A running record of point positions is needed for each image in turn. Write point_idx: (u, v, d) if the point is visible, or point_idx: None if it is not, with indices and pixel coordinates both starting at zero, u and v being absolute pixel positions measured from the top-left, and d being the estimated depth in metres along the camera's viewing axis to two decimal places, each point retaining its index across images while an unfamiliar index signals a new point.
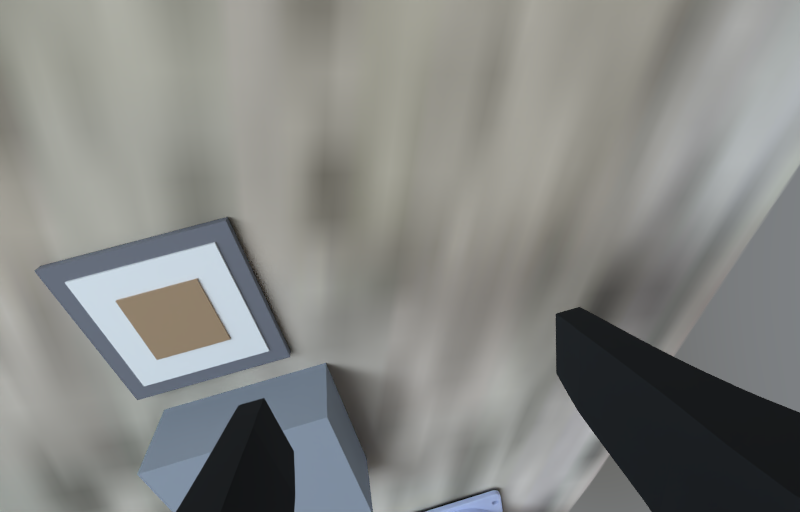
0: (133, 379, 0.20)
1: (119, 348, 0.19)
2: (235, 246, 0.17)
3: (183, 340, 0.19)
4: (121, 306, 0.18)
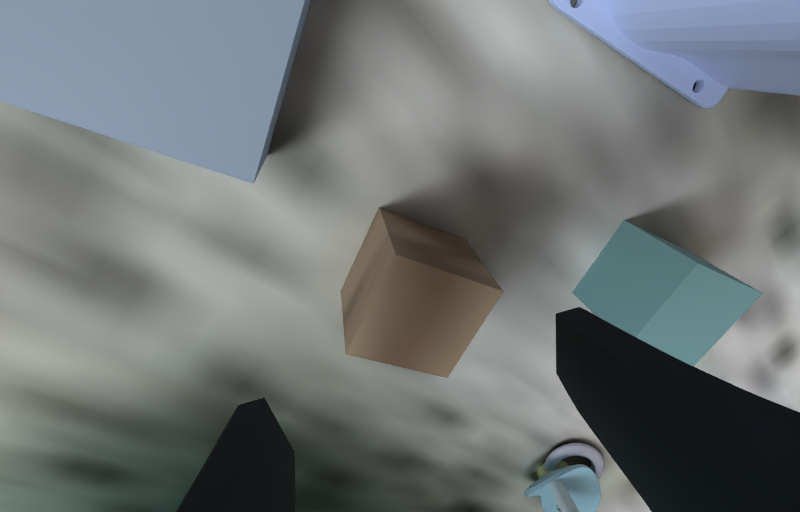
0: None
1: None
2: None
3: None
4: None
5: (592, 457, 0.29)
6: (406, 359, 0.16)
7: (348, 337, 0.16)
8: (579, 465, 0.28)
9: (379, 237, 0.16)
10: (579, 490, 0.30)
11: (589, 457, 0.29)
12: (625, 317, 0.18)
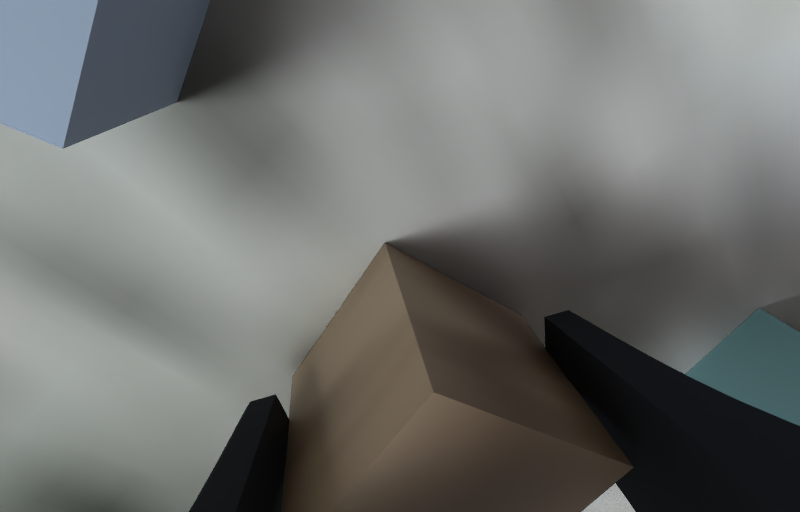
0: None
1: None
2: None
3: None
4: None
5: None
6: None
7: None
8: None
9: (384, 311, 0.08)
10: None
11: None
12: None
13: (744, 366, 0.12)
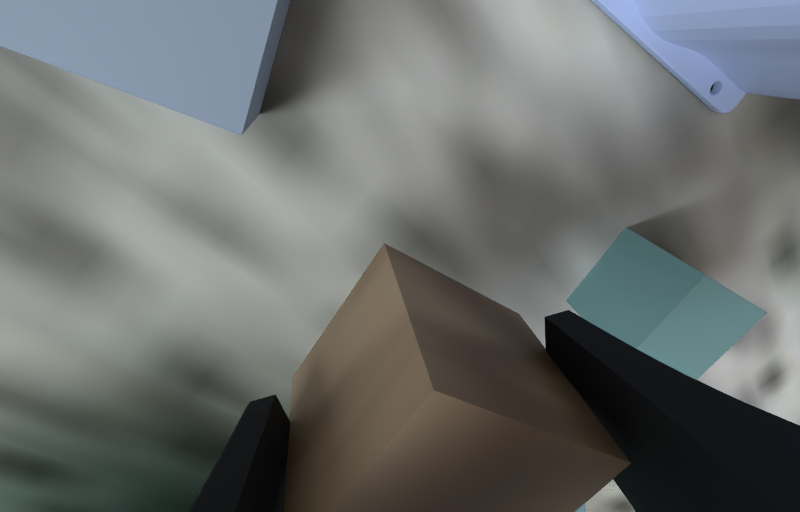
0: None
1: None
2: None
3: None
4: None
5: None
6: None
7: None
8: None
9: (383, 311, 0.08)
10: None
11: None
12: (623, 329, 0.17)
13: (615, 265, 0.19)
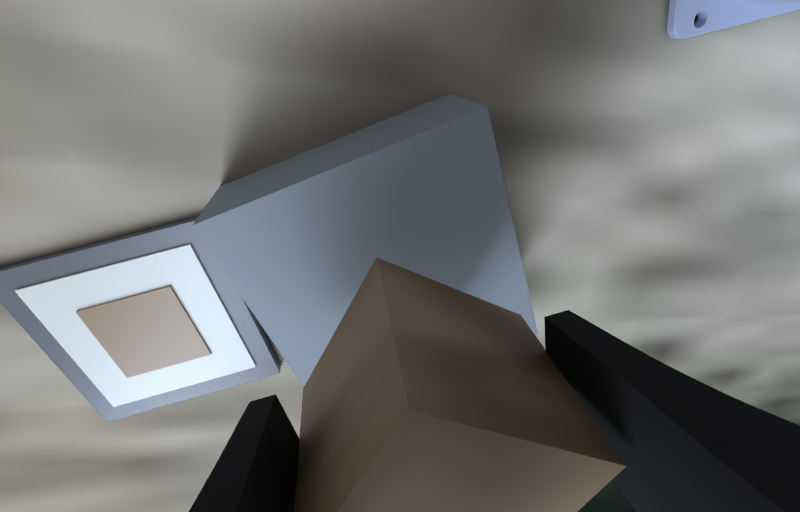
0: (248, 372, 0.18)
1: (201, 378, 0.18)
2: (15, 270, 0.14)
3: (177, 331, 0.16)
4: (134, 374, 0.17)
5: None
6: None
7: None
8: None
9: (373, 327, 0.08)
10: None
11: None
12: None
13: None
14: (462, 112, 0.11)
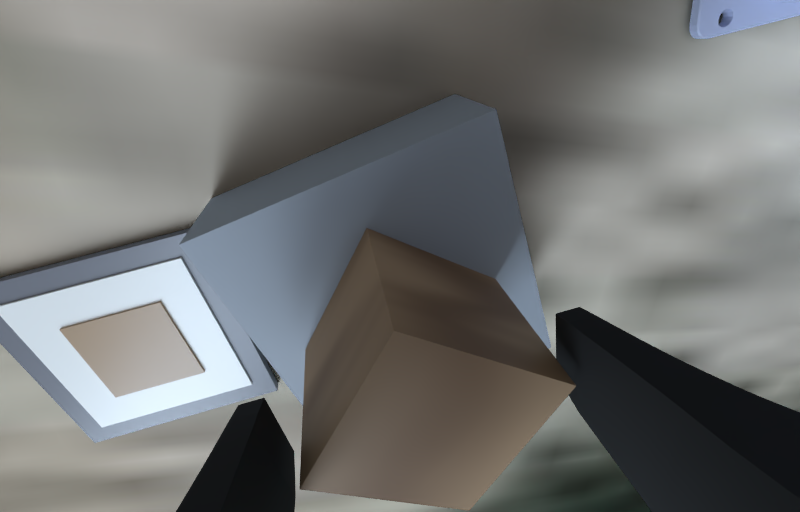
0: (244, 390, 0.17)
1: (194, 397, 0.17)
2: None
3: (168, 348, 0.15)
4: (123, 393, 0.16)
5: None
6: (405, 490, 0.09)
7: (306, 454, 0.09)
8: None
9: (365, 281, 0.10)
10: None
11: None
12: None
13: None
14: (468, 116, 0.11)
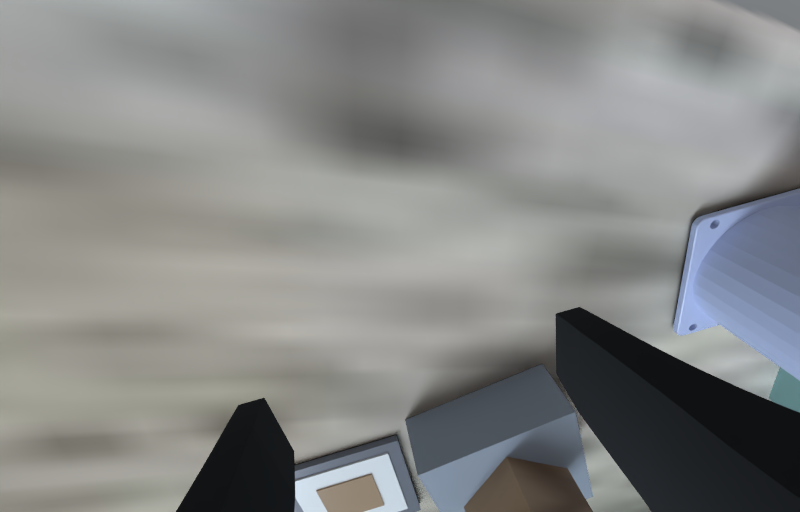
0: (401, 511, 0.28)
1: None
2: None
3: (369, 495, 0.26)
4: None
5: None
6: None
7: None
8: None
9: (516, 500, 0.20)
10: None
11: None
12: None
13: (792, 381, 0.28)
14: (560, 409, 0.21)
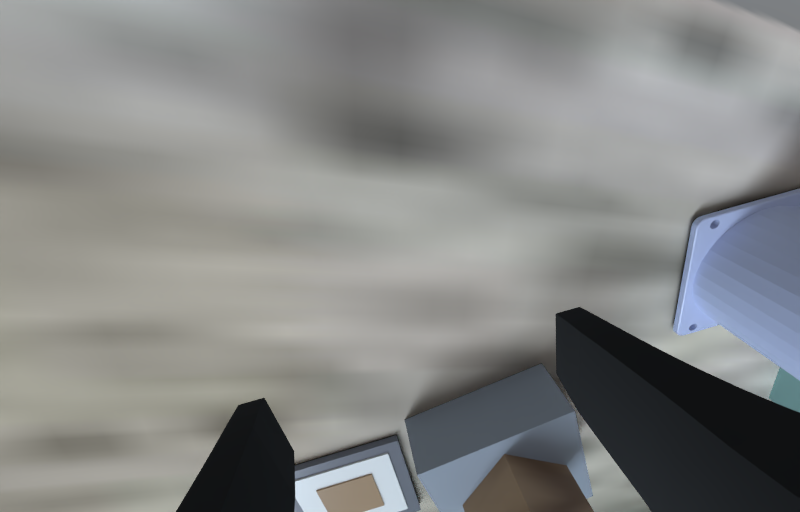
0: (401, 511, 0.28)
1: None
2: None
3: (369, 495, 0.26)
4: None
5: None
6: None
7: None
8: None
9: (514, 497, 0.20)
10: None
11: None
12: None
13: (792, 381, 0.28)
14: (559, 409, 0.21)
